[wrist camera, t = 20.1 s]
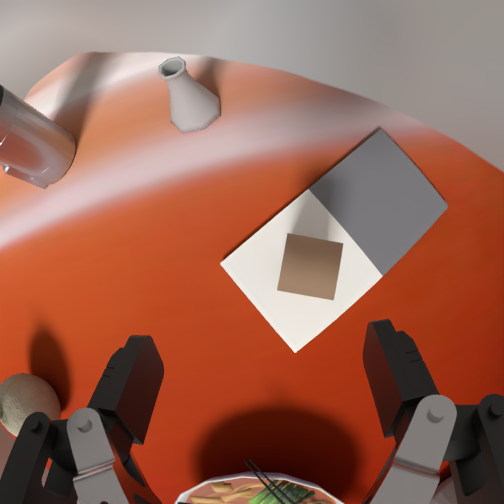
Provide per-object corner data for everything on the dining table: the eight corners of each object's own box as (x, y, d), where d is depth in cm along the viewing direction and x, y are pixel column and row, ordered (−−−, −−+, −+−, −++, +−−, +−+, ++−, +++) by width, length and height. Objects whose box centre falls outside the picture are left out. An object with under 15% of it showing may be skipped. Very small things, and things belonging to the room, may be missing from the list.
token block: (318, 294, 32) (333, 300, 22) (279, 286, 32) (276, 290, 22) (325, 254, 32) (343, 243, 22) (286, 247, 32) (287, 233, 23)
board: (294, 350, 32) (295, 353, 31) (221, 263, 34) (219, 263, 33) (444, 208, 32) (448, 206, 31) (378, 132, 34) (380, 128, 33)
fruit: (46, 353, 36) (-24, 370, 21) (83, 417, 34) (20, 454, 19) (20, 374, 36) (-41, 391, 21) (52, 431, 35) (-3, 462, 20)
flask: (211, 83, 37) (192, 36, 27) (229, 118, 36) (212, 72, 26) (164, 104, 37) (136, 64, 27) (179, 142, 36) (148, 103, 26)
